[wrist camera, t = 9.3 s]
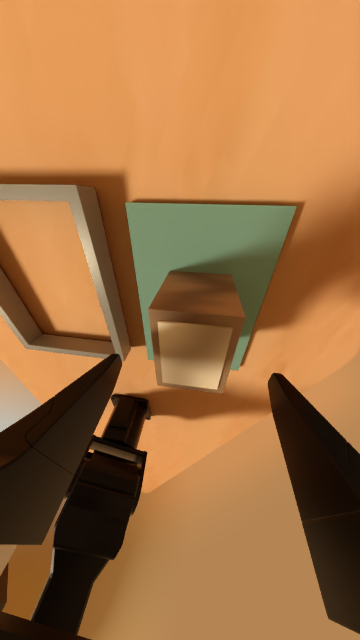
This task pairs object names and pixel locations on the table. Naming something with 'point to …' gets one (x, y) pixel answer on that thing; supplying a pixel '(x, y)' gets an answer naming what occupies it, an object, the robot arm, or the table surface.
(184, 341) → the walnut block
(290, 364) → the table surface
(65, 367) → the table surface
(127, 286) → the table surface
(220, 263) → the mat
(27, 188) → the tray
